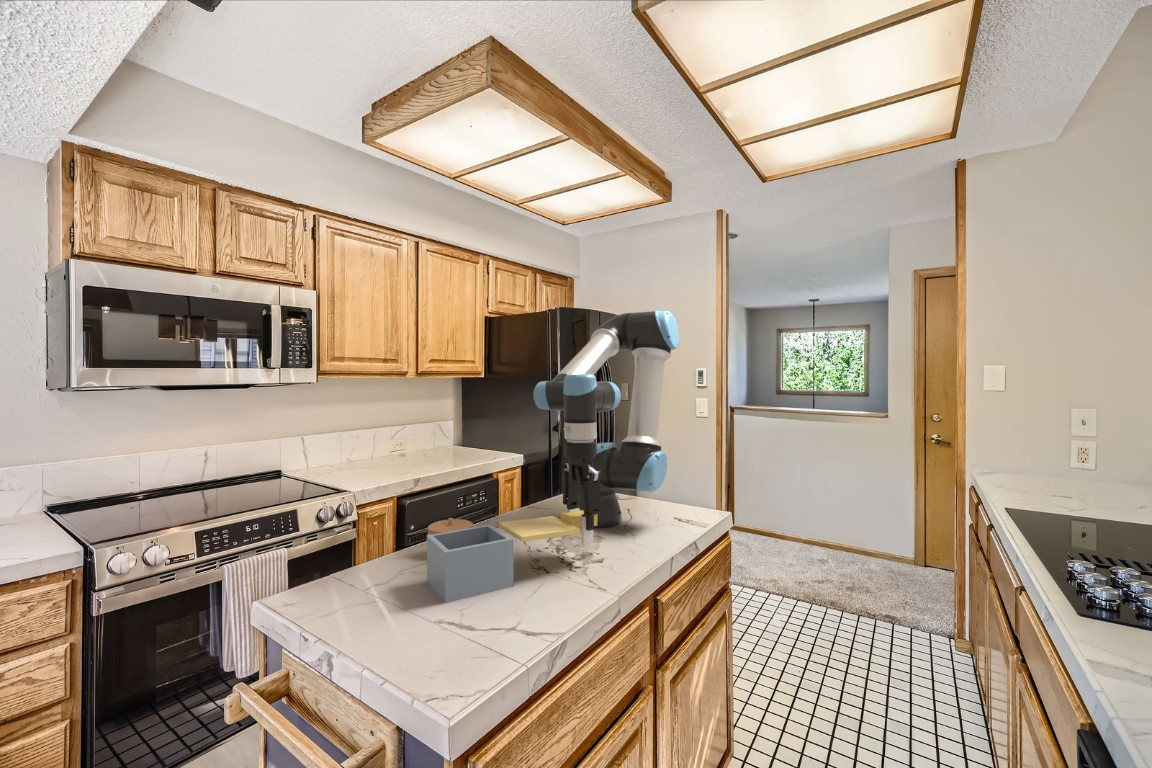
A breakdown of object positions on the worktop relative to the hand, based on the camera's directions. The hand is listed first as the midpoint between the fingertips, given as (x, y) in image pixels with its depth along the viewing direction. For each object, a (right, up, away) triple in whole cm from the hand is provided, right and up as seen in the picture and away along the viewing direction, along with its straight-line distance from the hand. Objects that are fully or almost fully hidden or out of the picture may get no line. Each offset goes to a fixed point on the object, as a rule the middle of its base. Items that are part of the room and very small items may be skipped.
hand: (580, 539), depth 119 cm
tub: (-23, -6, -14) cm, 28 cm away
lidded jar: (-32, -6, +5) cm, 32 cm away
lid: (-6, +4, -4) cm, 9 cm away
